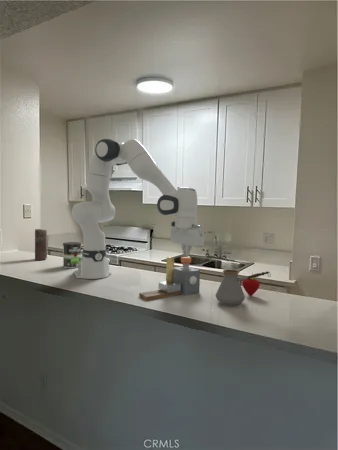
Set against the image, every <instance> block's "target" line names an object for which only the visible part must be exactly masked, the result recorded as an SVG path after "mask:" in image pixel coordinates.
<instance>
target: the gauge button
mask: <svg viewBox="0 0 338 450" xmlns="http://www.w3.org/2000/svg"><path fill="white" fill-rule="evenodd" d="M180 263H182V266H183V270H189V267H190V263H191V264H192V257H190V256H181V257H180Z"/></svg>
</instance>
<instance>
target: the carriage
mask: <svg viewBox="0 0 338 450" xmlns="http://www.w3.org/2000/svg"><path fill="white" fill-rule="evenodd" d="M165 267H166V269H165V272H166V273H165V275H166V276H165V281H164V280H163V281H159V282H158V290H162V291H164V292H166V293H170V292H176V291H181V283H178V282H176V281H174V267H175V257H173V256H166V266H165Z"/></svg>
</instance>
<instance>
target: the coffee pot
mask: <svg viewBox="0 0 338 450" xmlns="http://www.w3.org/2000/svg"><path fill="white" fill-rule="evenodd" d="M222 273H223V275H224V276H223V277H222V280H221V282H220V284H219V286H218V289H217V291H216V292H215V298H216V300H217V301H218V302H219V303H220V304H221V305H223V306H229V307H236V306H239V305H240V304H242V303H243V302H244V301H245V300H246V299H245V298H246V296H245V293H244V290H243V287H242V286H241V283H240V282H241V281H243V280H245V279H249V278H254V277H255V278H260V277H261V276H265V275H267V276H268V277H269V278H271V277H272V275H271V273H270V272H269V271H265V272H264V271H262V272H260V273H258V272H257V273H253V275H252V274H251V275H247V276H244V277H238V275H239V274H240V271H239V270H237V269H224V270H222Z"/></svg>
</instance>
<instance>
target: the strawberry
mask: <svg viewBox="0 0 338 450" xmlns="http://www.w3.org/2000/svg"><path fill="white" fill-rule="evenodd" d="M251 275H254V273H253V272H252V273H251ZM241 281H242V282H241V284H242V289H244V291H245V292H246V294H247V295H248V296H249V297H252V296H253V295H255V293H256V292H257V291H258V290H259V288H260V285H261V284H260V281H259V280H258V277H254V278H249V279H245V280H241Z"/></svg>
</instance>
